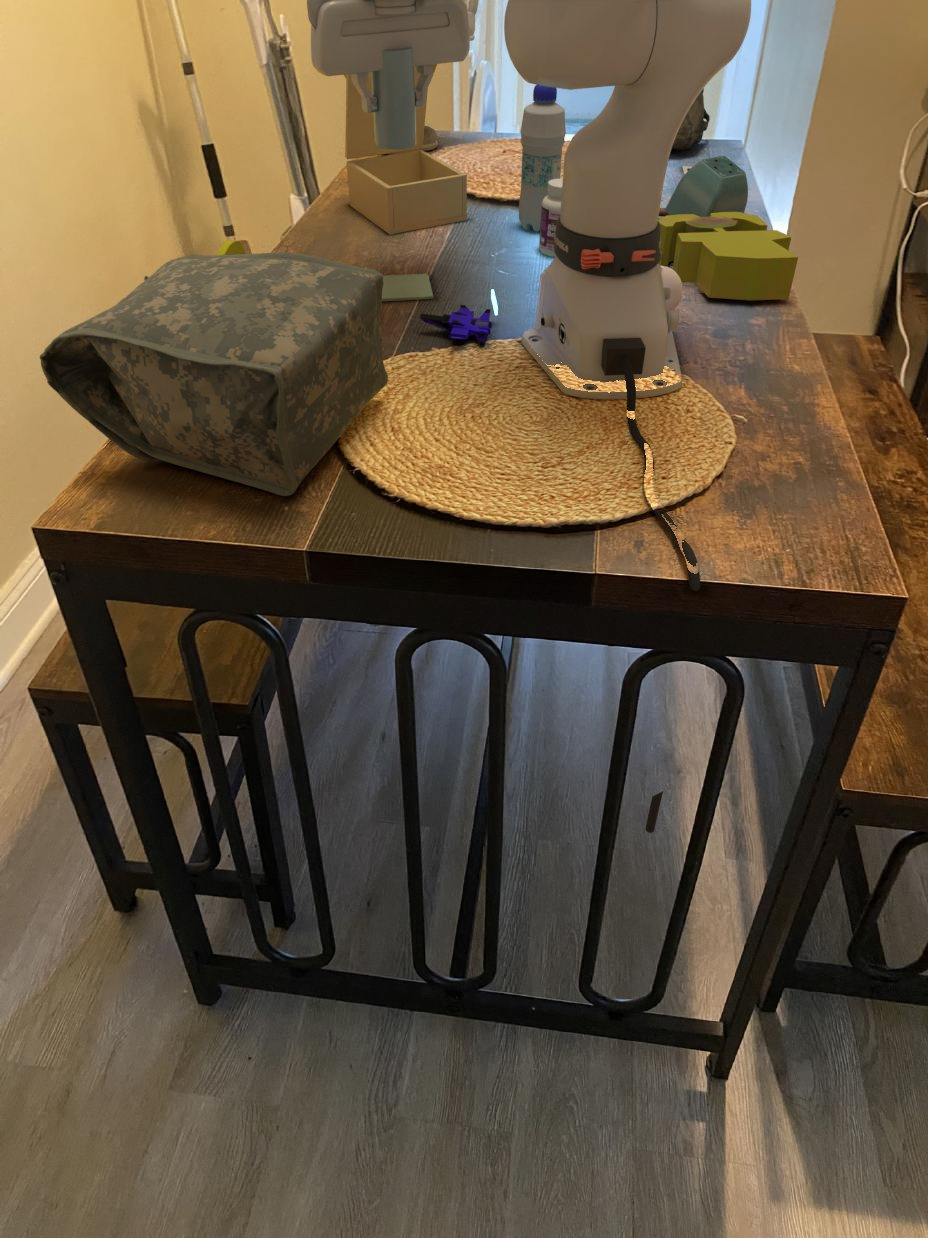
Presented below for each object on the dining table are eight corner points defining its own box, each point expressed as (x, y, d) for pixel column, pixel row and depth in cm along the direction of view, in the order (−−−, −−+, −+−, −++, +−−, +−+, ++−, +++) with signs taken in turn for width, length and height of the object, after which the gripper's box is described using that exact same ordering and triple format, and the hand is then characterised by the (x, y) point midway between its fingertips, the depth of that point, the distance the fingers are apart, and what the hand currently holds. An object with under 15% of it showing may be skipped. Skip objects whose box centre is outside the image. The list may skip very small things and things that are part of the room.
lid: (432, 40, 138) (417, 25, 140) (348, 49, 133) (335, 33, 135) (422, 147, 151) (409, 132, 153) (346, 159, 146) (334, 143, 149)
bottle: (556, 235, 141) (566, 88, 127) (513, 232, 142) (518, 86, 128) (562, 221, 146) (571, 77, 132) (520, 218, 147) (525, 76, 133)
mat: (433, 298, 123) (433, 295, 123) (358, 302, 122) (358, 299, 122) (428, 276, 129) (427, 273, 129) (356, 279, 128) (356, 276, 128)
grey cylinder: (423, 146, 119) (421, 48, 112) (385, 151, 117) (380, 52, 110) (399, 131, 124) (395, 36, 116) (362, 136, 122) (356, 40, 114)
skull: (737, 79, 162) (674, 12, 168) (651, 143, 164) (593, 74, 171) (740, 153, 180) (683, 90, 186) (663, 209, 183) (609, 145, 189)
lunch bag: (390, 399, 103) (179, 349, 109) (386, 259, 91) (151, 211, 97) (295, 517, 88) (57, 450, 94) (276, 367, 76) (7, 302, 82)
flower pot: (765, 176, 135) (739, 232, 142) (726, 145, 138) (703, 201, 146) (722, 184, 131) (698, 241, 138) (684, 152, 135) (662, 209, 142)
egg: (683, 282, 120) (689, 257, 112) (675, 328, 119) (680, 305, 112) (637, 277, 120) (639, 251, 113) (629, 322, 120) (630, 299, 113)
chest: (466, 219, 146) (466, 174, 141) (389, 234, 141) (387, 187, 137) (423, 192, 156) (421, 149, 152) (349, 205, 151) (346, 161, 147)
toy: (644, 256, 135) (694, 307, 120) (650, 215, 131) (702, 262, 116) (746, 250, 137) (807, 299, 122) (753, 210, 133) (818, 255, 118)
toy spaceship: (495, 305, 117) (493, 321, 118) (426, 297, 117) (425, 314, 119) (486, 339, 109) (485, 356, 111) (413, 330, 110) (412, 347, 111)
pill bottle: (545, 259, 133) (549, 189, 127) (534, 246, 137) (537, 178, 131) (580, 255, 134) (586, 186, 128) (568, 243, 138) (573, 174, 132)
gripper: (314, -14, 102) (327, 123, 111) (475, -27, 109) (475, 103, 118) (295, -20, 106) (309, 112, 115) (451, -32, 113) (453, 94, 122)
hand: (394, 108), depth 117 cm, fingers closed on grey cylinder, 5 cm apart
